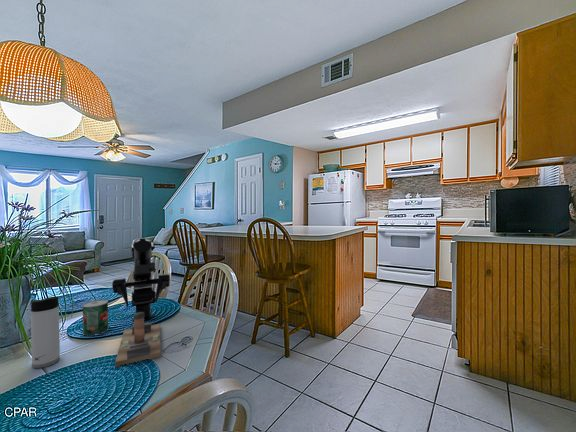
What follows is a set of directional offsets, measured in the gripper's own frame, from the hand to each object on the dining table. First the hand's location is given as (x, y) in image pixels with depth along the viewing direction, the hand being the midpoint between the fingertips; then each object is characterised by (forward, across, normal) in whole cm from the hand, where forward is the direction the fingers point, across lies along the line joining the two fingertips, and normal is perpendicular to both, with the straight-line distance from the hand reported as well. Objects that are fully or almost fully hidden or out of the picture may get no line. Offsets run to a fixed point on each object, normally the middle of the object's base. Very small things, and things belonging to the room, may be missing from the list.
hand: (142, 304), depth 95 cm
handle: (+15, -1, -2) cm, 15 cm away
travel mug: (+12, -26, +6) cm, 29 cm away
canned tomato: (-1, -16, +20) cm, 26 cm away
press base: (+12, 0, +5) cm, 13 cm away
